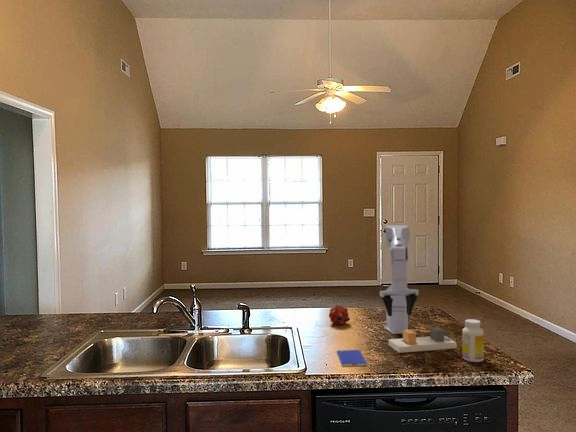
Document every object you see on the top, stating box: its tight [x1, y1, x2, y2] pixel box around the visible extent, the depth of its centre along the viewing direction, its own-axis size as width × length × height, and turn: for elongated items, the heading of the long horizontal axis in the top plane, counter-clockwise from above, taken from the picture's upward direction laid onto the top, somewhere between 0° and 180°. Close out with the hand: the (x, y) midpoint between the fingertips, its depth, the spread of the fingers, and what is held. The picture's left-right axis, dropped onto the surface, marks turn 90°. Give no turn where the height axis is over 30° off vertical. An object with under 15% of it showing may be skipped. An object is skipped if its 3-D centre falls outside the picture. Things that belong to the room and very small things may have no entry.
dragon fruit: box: [328, 304, 351, 327], centre depth 196 cm, size 8×8×12 cm
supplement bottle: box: [461, 318, 485, 363], centre depth 150 cm, size 7×7×13 cm
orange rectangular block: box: [402, 328, 417, 345], centre depth 163 cm, size 4×3×6 cm, turn 11°
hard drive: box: [336, 349, 368, 367], centre depth 152 cm, size 2×8×12 cm
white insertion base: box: [388, 326, 458, 354], centre depth 164 cm, size 9×22×6 cm, turn 101°
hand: (399, 315), depth 169 cm, fingers open, 7 cm apart
